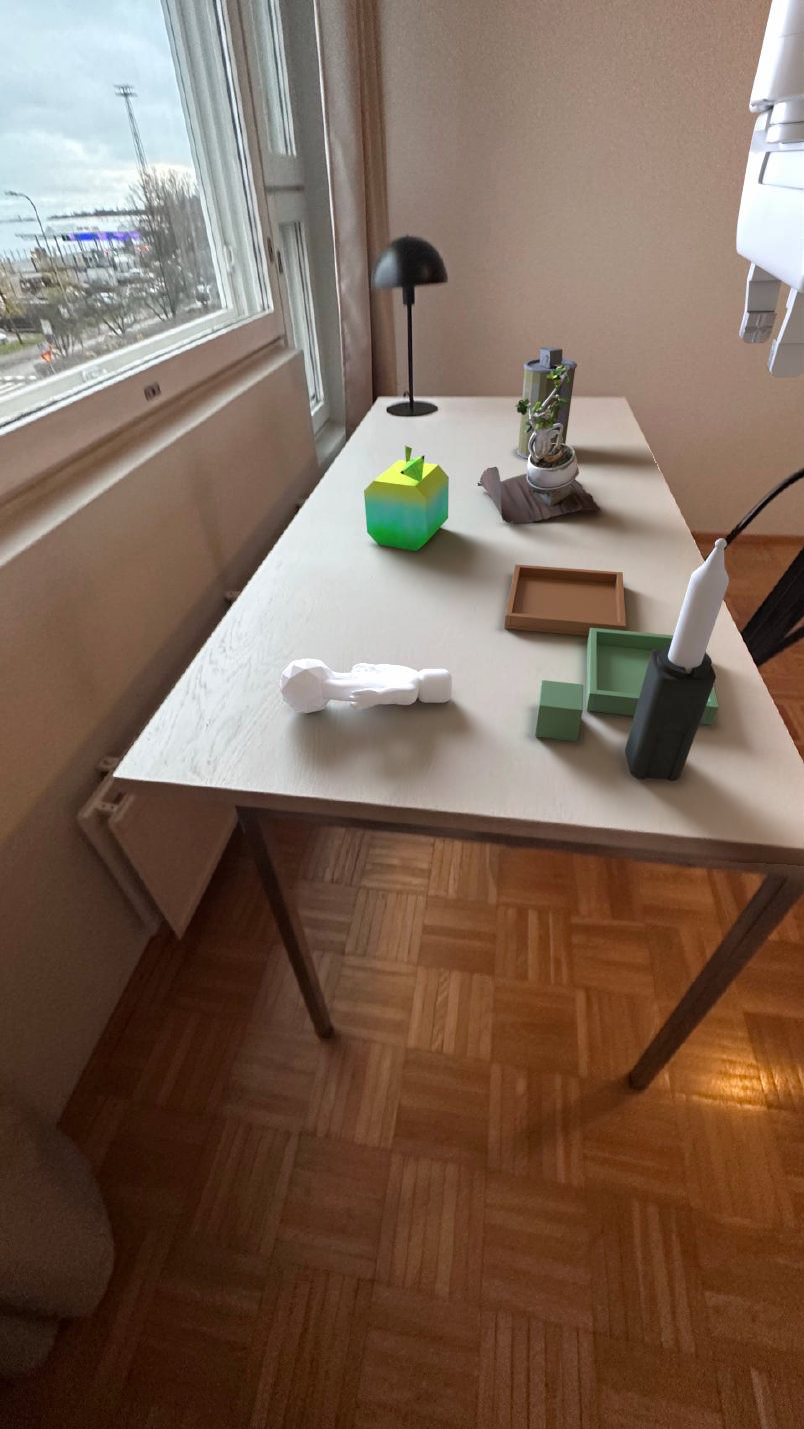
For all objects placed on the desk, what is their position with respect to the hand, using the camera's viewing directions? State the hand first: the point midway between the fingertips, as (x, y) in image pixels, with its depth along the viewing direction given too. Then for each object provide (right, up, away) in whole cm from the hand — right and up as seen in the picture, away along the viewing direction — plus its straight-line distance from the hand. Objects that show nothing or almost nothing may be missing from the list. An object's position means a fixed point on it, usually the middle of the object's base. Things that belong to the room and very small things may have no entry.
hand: (766, 356), depth 41 cm
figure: (-28, -22, +34) cm, 49 cm away
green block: (-6, -25, +30) cm, 39 cm away
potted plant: (+1, +16, +77) cm, 78 cm away
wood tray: (-1, -8, +49) cm, 49 cm away
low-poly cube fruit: (-23, +7, +68) cm, 72 cm away
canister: (+7, +33, +96) cm, 102 cm away
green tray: (+6, -19, +35) cm, 41 cm away
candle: (+2, -29, +25) cm, 38 cm away
